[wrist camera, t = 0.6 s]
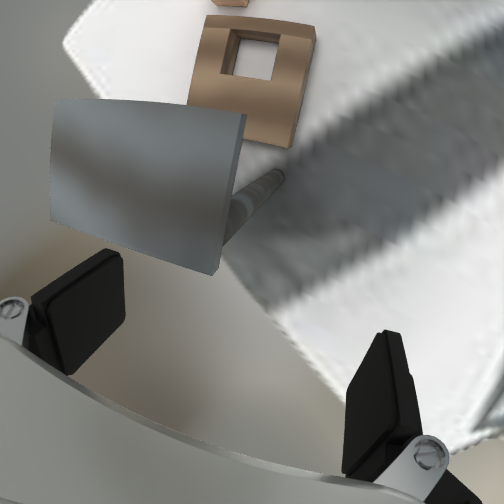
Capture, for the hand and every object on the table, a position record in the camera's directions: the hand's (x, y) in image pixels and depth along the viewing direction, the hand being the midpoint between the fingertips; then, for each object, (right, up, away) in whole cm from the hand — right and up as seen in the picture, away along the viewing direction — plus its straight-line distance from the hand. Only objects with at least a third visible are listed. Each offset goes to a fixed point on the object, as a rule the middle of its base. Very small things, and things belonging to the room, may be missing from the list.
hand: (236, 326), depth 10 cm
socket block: (0, +20, +23) cm, 30 cm away
